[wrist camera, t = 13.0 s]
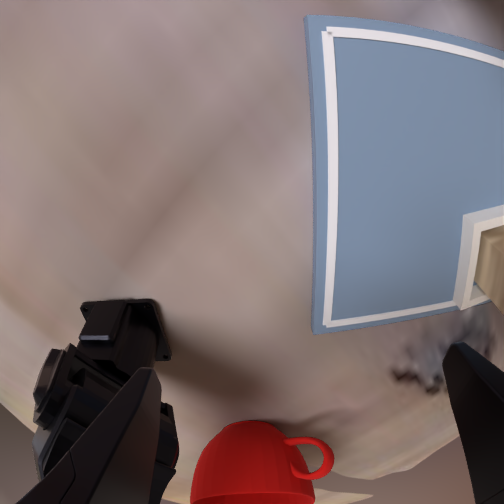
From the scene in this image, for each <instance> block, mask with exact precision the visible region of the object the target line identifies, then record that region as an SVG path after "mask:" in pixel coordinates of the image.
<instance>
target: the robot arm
mask: <svg viewBox="0 0 504 504" xmlns="http://www.w3.org/2000/svg"><path fill="white" fill-rule="evenodd" d="M146 305H149V306H150V307H147V306H146ZM86 308H87V309H86ZM80 310H81V312H82V314H83V316H84V318H85V320H86V323H85V325H84V327H83V329H82V331H81V333H80V335H79V340H80V341H79V343H78V345H77V347H75V346H74V345H72V344H71V343H70V344H69V345H68V346H67V347H66V349H65V350H62V349H61V350H58V349H51V351H50V352H49V354H48V356H47V358H46V360H45V362H44V364H43V366H42V368H41V371H40V373H39V376H38V379H37V382H36V385H35V388H34V392H33V397H34V400H35V410H34V417H33V422H34V423H36V424H37V425H39V426H38V428H37V431H36V433H35V436H34V438H33V441H32V448H33V453H34V460H35V464H36V470H37V475H38V480H39V483H38V484H37V485H36V486H35V487H33V488H32V489H31V490H30V491H29V492H28V493H27V494H26V495H25V496H24V497H23V498H21V499H20V500H19V501H18V502H17V503H16V504H160V501H161V498H162V495H163V493H164V491H165V489H166V487H167V485H168V483H169V481H170V480H171V479H172V477H173V476H174V475H175V473H176V469H174V468H175V466H176V463H177V460H178V457H179V442H178V438H177V432H176V426H175V420H174V414H173V407H172V406H171V405H169V404H167V403H163V402H161V392H162V390H161V384H160V381H159V379H158V377H157V374H156V372H155V370H154V369H153V367H154V362H155V361H169V360H171V357H172V353H171V350H170V347H169V345H168V342H167V339H166V336H165V333H164V331H163V328H162V325H161V322H160V319H159V316H158V313H157V310H156V307H155V304H154V302H153V301H152V300H150V299H138V300H114V301H97V302H83V303H82V305H81V307H80ZM166 355H167V356H166ZM442 366H443V371H444V375H445V380H446V384H447V388H448V393H449V398H450V402H451V407H452V410H453V414H454V417H455V420H456V424H457V427H458V431H459V434H460V438H461V441H462V445H463V449H464V453H465V456H466V461H467V465H468V469H469V474H470V478H471V482H472V488H473V493H474V498H475V503H476V504H504V372H503V371H501V370H500V369H499V368H498V367H496V366H495V365H494V364H492V363H491V362H490V361H488V360H487V359H486V358H484V357H483V356H482V355H480V354H479V353H478V352H476V351H475V350H474V349H472V348H471V347H470V346H468V345H467V344H466V343H464V342H456V343H452V344H451V345H450V347H449V349H448V351H447V353H446V355H445V357H444V359H443V363H442Z"/></svg>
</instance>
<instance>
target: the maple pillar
mask: <svg viewBox="0 0 504 504" xmlns="http://www.w3.org/2000/svg"><path fill="white" fill-rule="evenodd" d="M474 281H475V282H476V283H477V284H478V286H479V287H480V288H481V289H482V290H483V291H484V292H485V294H486V295H487V296H488V297H489V298H490V299H491V301H492V302H493V303H494V304H495V305H496V307H497V308H498V309H499V310H500V312H501V313H502V314H503V315H504V225H502V226H498V227H495V228H492V229H488V230H485V231H481V237H480V245H479V252H478V259H477V265H476V271H475V276H474Z"/></svg>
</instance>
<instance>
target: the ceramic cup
mask: <svg viewBox="0 0 504 504" xmlns="http://www.w3.org/2000/svg"><path fill="white" fill-rule="evenodd" d="M298 444H314V445H316V446H318V447H319V448H320V449H321V451H322V452H323V455H324V461H323V464H322V466H321V467H320V468H319V469H318V470H317V471H315V472H312V473H309V471H308V467H307V465H306V462H305V460H304V458H303V456H302V454H301V453H300V451H299V449H298V448H297V447H296V445H298ZM333 464H334V454H333V451H332V449H331V448H330V447H329V446H328V445H327V444H326V443H325V442H323V441H322V440H320V439H317V438H313V437H294V438H288V437H287V436H286V435H284V434H283V433H282V432H280V431H279V430H277V429H276V428H275V427H274V426H273V425H271V424H269V423H266V422H261V421H242V422H236V423H233V424H230V425H228V426H226V427H225V428H224V429H223V430H222V431H221V432H220V433H219V434H217V435H216V436H215V437H214V438H213V439H212V440H211V441H210V442H209V443H208V444H207V446H206V447H205V448H204V450H203V452H202V454H201V456H200V458H199V460H198V463H197V465H196V468H195V472H194V476H193V482H192V488H191V496H190V504H313V503H314V502H315V494H314V489H313V485H312V481H311V480H314V479H319V478H322V477H324V476H325V475H327V474H328V473H329V472H330V471H331V469H332V467H333Z"/></svg>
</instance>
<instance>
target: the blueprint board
mask: <svg viewBox="0 0 504 504" xmlns="http://www.w3.org/2000/svg"><path fill="white" fill-rule="evenodd" d="M304 27H305V38H306V49H307V62H308V76H309V92H310V110H311V131H312V160H313V286H312V316H311V328H312V332H313V335H316V334H324V333H332V332H339V331H346V330H353V329H359V328H366V327H372V326H378V325H384V324H390V323H396V322H401V321H406V320H412V319H417V318H422V317H427V316H432V315H437V314H441V313H446V312H451V311H455V310H460V309H459V308H458V306H457V305H456V304H455V302H454V301H453V295H454V290H455V283H456V277H457V270H458V263H459V254H460V245H461V235H462V223H463V215H465V214H469V213H473V212H477V211H481V210H484V209H488V208H492V207H496V206H500V205H504V51H501V50H498V49H496V48H493V47H490V46H487V45H484V44H481V43H478V42H475V41H471V40H468V39H465V38H461V37H458V36H454V35H450V34H446V33H442V32H438V31H434V30H430V29H425V28H420V27H415V26H410V25H405V24H399V23H393V22H386V21H379V20H372V19H363V18H353V17H341V16H325V15H307V16H305V17H304ZM474 285H477V283H476V282H475V281H474V282H473V286H474ZM489 302H492V301H491V299H489V300H487V301H484V302H482V303H479V304H477V305H481V304H485V303H489ZM477 305H474V306H477ZM471 307H472V306H471Z"/></svg>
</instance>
